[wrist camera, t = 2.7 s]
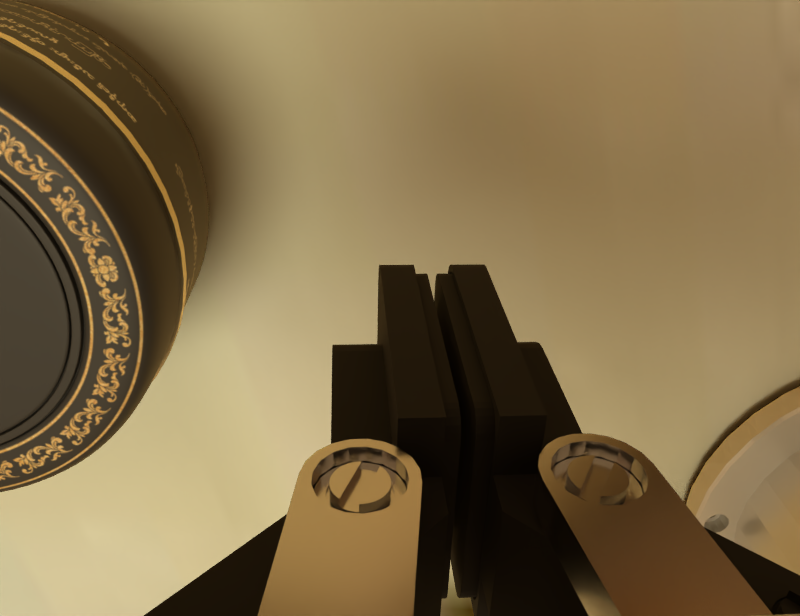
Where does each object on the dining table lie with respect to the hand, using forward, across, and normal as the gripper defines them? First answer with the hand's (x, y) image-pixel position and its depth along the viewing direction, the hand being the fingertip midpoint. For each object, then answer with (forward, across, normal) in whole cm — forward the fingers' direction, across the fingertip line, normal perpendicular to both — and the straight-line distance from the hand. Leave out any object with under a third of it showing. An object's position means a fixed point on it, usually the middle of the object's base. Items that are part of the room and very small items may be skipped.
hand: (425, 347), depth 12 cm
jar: (+10, +10, +1) cm, 14 cm away
